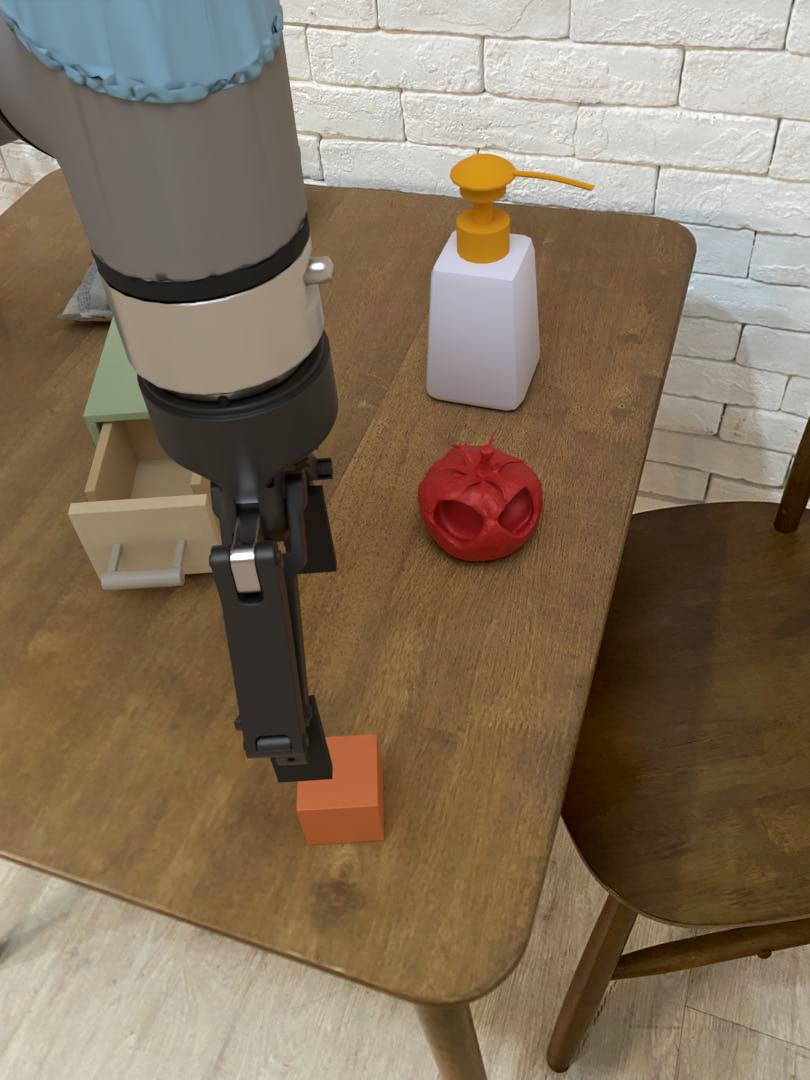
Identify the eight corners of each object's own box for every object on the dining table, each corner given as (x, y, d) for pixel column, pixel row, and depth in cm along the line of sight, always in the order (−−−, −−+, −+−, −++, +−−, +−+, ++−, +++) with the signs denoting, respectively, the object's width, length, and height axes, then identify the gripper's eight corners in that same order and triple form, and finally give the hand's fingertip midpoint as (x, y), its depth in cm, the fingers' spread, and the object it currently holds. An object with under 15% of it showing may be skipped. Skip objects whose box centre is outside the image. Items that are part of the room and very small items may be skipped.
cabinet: (246, 489, 83) (223, 406, 76) (116, 498, 83) (82, 416, 76) (258, 385, 93) (239, 302, 86) (142, 393, 93) (113, 311, 86)
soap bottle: (565, 426, 86) (584, 199, 69) (421, 402, 89) (407, 181, 73) (586, 363, 92) (608, 140, 75) (450, 343, 95) (443, 126, 79)
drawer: (221, 613, 73) (198, 547, 67) (89, 621, 73) (54, 556, 67) (240, 457, 85) (222, 389, 79) (126, 465, 85) (100, 398, 79)
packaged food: (65, 337, 100) (49, 297, 97) (98, 275, 108) (85, 236, 104) (143, 338, 99) (131, 298, 96) (172, 275, 107) (161, 236, 104)
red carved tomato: (416, 493, 81) (409, 411, 74) (530, 482, 81) (534, 399, 74) (426, 581, 75) (420, 500, 68) (550, 569, 75) (557, 487, 68)
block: (307, 845, 61) (295, 810, 57) (310, 775, 64) (299, 738, 60) (384, 841, 61) (377, 806, 57) (383, 770, 64) (376, 733, 60)
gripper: (318, 589, 27) (382, 880, 43) (333, 180, 44) (375, 496, 60) (65, 607, 28) (220, 890, 43) (176, 193, 44) (259, 505, 60)
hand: (310, 662), depth 52 cm, fingers open, 13 cm apart
